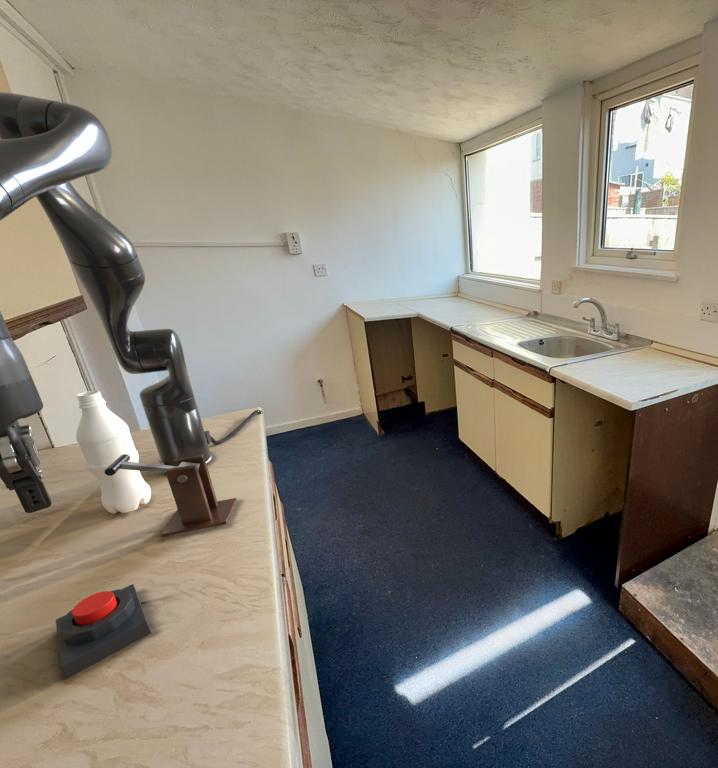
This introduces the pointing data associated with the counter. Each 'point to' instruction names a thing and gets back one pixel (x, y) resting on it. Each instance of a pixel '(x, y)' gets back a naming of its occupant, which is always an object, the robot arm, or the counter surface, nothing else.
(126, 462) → the lever
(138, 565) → the counter surface
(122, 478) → the water bottle
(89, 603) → the button
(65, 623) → the control block
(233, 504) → the bracket
